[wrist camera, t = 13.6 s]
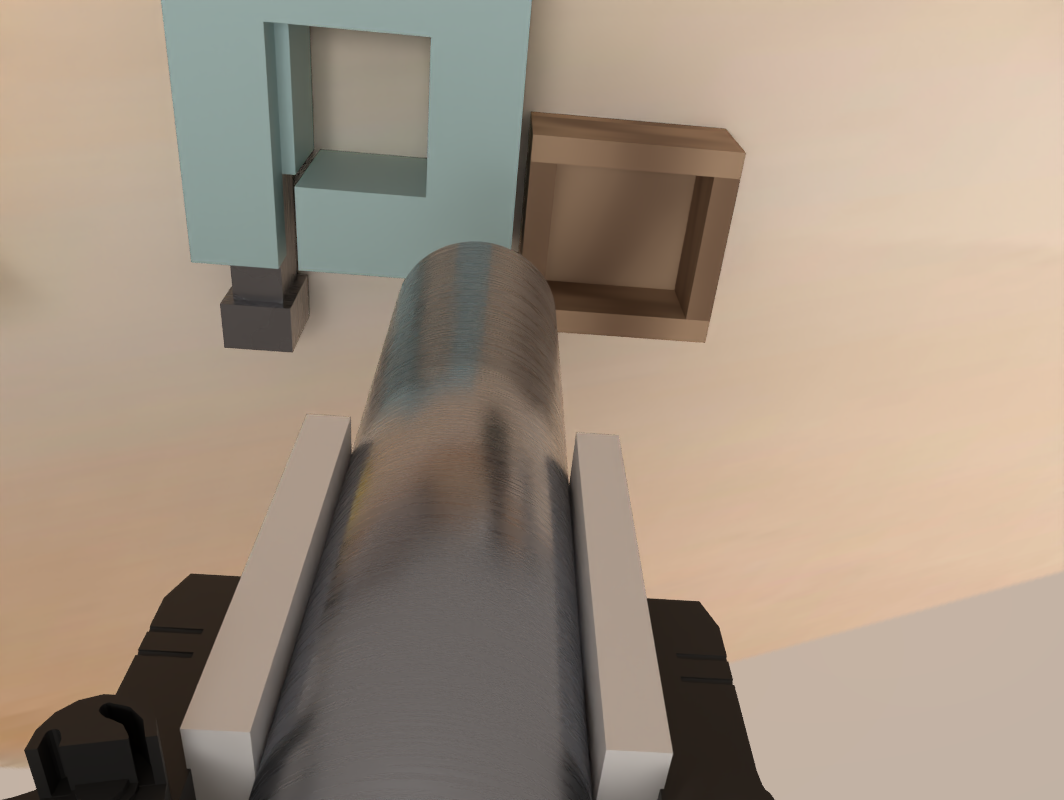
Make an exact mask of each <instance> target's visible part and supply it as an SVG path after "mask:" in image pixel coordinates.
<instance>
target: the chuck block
mask: <svg viewBox="0 0 1064 800" xmlns="http://www.w3.org/2000/svg"><path fill="white" fill-rule="evenodd" d="M161 4H162V13H163V22H164V30H165V39H166V48H167V56H168V65H169V73H170V82H171V91H172V99H173V108H174V117H175V125H176V134H177V143H178V151H179V160H180V169H181V177H182V186H183V194H184V203H185V212H186V220H187V229H188V238H189V246H190V255H191V262H194V263H207V264H220V265H234V266H247V267H260V268H273V269H279V267H280V266H281V264H282V262H283V260H284V259H285V257H286V255H287V253H286V235H285V217H284V199H283V181H282V174H291V175H296V174H297V172H298V171H299V169H300V168H301V167H302V165H303V164H304V162H305V161H306V160H307V158H308V157H309V155H310V154H311V153H312V151H313V150H314V134H313V107H312V79H311V52H310V26H317V27H327V28H338V29H349V30H360V31H370V32H381V33H392V34H402V35H413V36H424V37H431V50H430V84H429V118H428V152H427V158H415V157H404V156H392V155H380V154H368V153H356V152H344V151H332V150H321V149H320V150H319V152H318V153H317V155H316V156H315V158H314V159H313V161H312V162H311V164H310V165H309V166H308V168H307V169H306V171H305V172H304V174H303V175H302V177H301V178H300V180H299V181H298V182H297V184H296V185H295V187H294V188H295V209H296V229H297V249H298V270H300V271H313V272H326V273H340V274H353V275H366V276H379V277H393V278H406V277H407V275H408V274H409V273H410V271H411V270H412V269H413V267H414V266H415V265H416V264H417V263H419V262H420V261H421V260H422V259H423V258H425V257H426V256H427V255H429V254H430V253H432V252H434V251H436V250H438V249H440V248H442V247H445V246H448V245H451V244H455V243H460V242H469V241H478V242H488V243H493V244H497V245H501V246H504V247H506V248H509V249H511V245H512V233H513V221H514V209H515V197H516V185H517V173H518V161H519V149H520V137H521V125H522V113H523V101H524V88H525V76H526V64H527V52H528V40H529V28H530V16H531V4H532V0H161Z"/></svg>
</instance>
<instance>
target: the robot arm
mask: <svg viewBox="0 0 1064 800" xmlns="http://www.w3.org/2000/svg"><path fill="white" fill-rule="evenodd" d="M350 458H351V417H346V416H331V415H317V414H306V417H305V419H304V422H303V424H302V427H301V429H300V432H299V434H298V437H297V439H296V442H295V444H294V447H293V449H292V452H291V454H290V457H289V459H288V462H287V464H286V467H285V469H284V472H283V474H282V477H281V479H280V481H279V484H278V486H277V489H276V491H275V494H274V496H273V499H272V501H271V504H270V506H269V509H268V511H267V514H266V516H265V519H264V521H263V524H262V526H261V529H260V531H259V534H258V536H257V539H256V541H255V544H254V546H253V548H252V551H251V553H250V556H249V558H248V561H247V563H246V566H245V568H244V571H243V573H242V576H241V577H239V576H222V575H205V574H190V575H189V576H188V577H187V578H185V579H184V580H183V581H182V582H181V583H180V584H179V585H178V586H177V587H175V588H174V589H173V590H172V591H171V592H170V593H169V594H168V595H167V596H165V597H164V599H163V601H162V603H161V605H160V607H159V609H158V611H157V613H156V615H155V617H154V619H153V621H152V623H151V625H150V630H149V632H147V633H146V635H145V637H144V639H143V641H142V643H141V645H140V647H139V649H138V655H135V657H134V659H133V661H132V663H131V665H130V667H129V669H128V671H127V673H126V675H125V677H124V679H123V681H122V683H121V685H120V687H119V689H118V691H117V693H116V695H109V694H103V695H99V696H95V697H90V698H86V699H82V700H78V701H76V702H74V703H73V704H71V705H69V706H67V707H65V708H63V709H61V710H59V711H57V712H55V713H54V714H53V715H52V716H51V717H50V718H49V719H47V720H46V721H45V722H44V723H43V724H42V725H41V726H40V727H39V728H38V729H36V731H35V732H34V734H33V736H32V738H31V739H30V741H29V743H28V745H27V747H26V748H25V750H24V751H25V754H26V757H27V760H28V763H29V767H30V770H31V773H32V776H33V779H34V782H35V785H36V788H37V789H36V790H34V791H31V792H28V793H25V794H22V795H19V796H16V797H12V798H8V799H4V800H249V797H250V793H251V790H252V787H253V783H254V780H255V778H256V774H257V771H258V767H259V764H260V761H261V757H262V754H263V751H264V747H265V744H266V741H267V737H268V734H269V730H270V727H271V724H272V720H273V717H274V714H275V710H276V707H277V703H278V700H279V697H280V693H281V690H282V687H283V683H284V680H285V677H286V673H287V670H288V666H289V663H290V660H291V656H292V653H293V650H294V646H295V643H296V639H297V636H298V633H299V629H300V626H301V623H302V619H303V616H304V613H305V609H306V606H307V602H308V599H309V596H310V592H311V589H312V586H313V582H314V579H315V575H316V572H317V569H318V565H319V562H320V559H321V555H322V552H323V549H324V545H325V542H326V538H327V535H328V532H329V528H330V525H331V522H332V518H333V515H334V511H335V508H336V505H337V501H338V498H339V495H340V491H341V488H342V485H343V481H344V478H345V474H346V471H347V468H348V464H349V461H350ZM569 492H570V505H571V519H572V532H573V545H574V558H575V572H576V585H577V598H578V612H579V625H580V638H581V651H582V665H583V678H584V691H585V705H586V718H587V731H588V744H589V758H590V771H591V784H592V798H593V800H774V798H773V797H772V795H771V794H770V793H769V792H768V791H766V790H765V788H764V787H763V785H762V783H761V781H760V778H759V776H758V773H757V771H756V767H755V763H754V759H753V755H752V751H751V748H750V744H749V740H748V736H747V732H746V728H745V724H744V721H743V717H742V713H741V709H740V705H739V701H738V698H737V694H736V690H735V686H734V685H733V684H732V681H733V679H732V675H731V671H730V667H729V663H728V662H727V660H726V657H727V655H726V651H725V648H724V644H723V640H722V636H721V632H720V628H719V626H718V625H717V624H716V623H715V621H714V620H713V619H712V617H711V616H710V615H709V613H708V612H707V611H706V610H705V608H704V607H703V606H702V604H701V603H700V602H699V601H683V600H666V599H649V598H647V597H646V592H645V586H644V580H643V574H642V568H641V562H640V556H639V550H638V545H637V539H636V533H635V527H634V521H633V515H632V509H631V503H630V498H629V492H628V486H627V480H626V474H625V468H624V462H623V457H622V451H621V445H620V439H619V435H609V434H595V433H580V432H576V438H575V446H574V453H573V461H572V468H571V476H570V483H569Z"/></svg>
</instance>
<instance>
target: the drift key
mask: <svg viewBox="0 0 1064 800" xmlns="http://www.w3.org/2000/svg"><path fill="white" fill-rule="evenodd" d="M282 181H283V199H284V217H285V235H286V253H287V255H286V257H285V259H284V260H283V262H282V264H281V266H280V267H279V269H273V268H260V267H247V266H234V265H230V266H231V277H232V287H231V288H230V290H229V291H228V293H227V294H226V296H225V297H224V299H223V300H222V302H221V303H220V308H221V318H222V328H223V338H224V347H225V348H238V349H252V350H267V351H281V352H293V351H294V348H295V346H296V344H297V342H298V340H299V337H300V335H301V333H302V331H303V329H304V326H305V324H306V322H307V320H308V318H309V299H308V276H307V275H301V274H297V260H296V240H295V220H294V200H293V180H292V175H291V174H282Z"/></svg>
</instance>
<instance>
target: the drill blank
mask: <svg viewBox="0 0 1064 800" xmlns="http://www.w3.org/2000/svg"><path fill="white" fill-rule="evenodd" d="M249 800H593V798H592V784H591V771H590V758H589V744H588V731H587V718H586V705H585V691H584V678H583V665H582V651H581V638H580V625H579V612H578V598H577V585H576V572H575V558H574V545H573V532H572V519H571V505H570V492H569V479H568V465H567V452H566V439H565V426H564V412H563V399H562V386H561V373H560V359H559V346H558V333H557V319H556V308H555V302H554V298H553V294H552V292H551V289H550V287H549V285H548V283H547V281H546V280H545V278H544V276H543V275H542V274H541V273H540V271H539V270H538V269H537V268H536V267H535V266H534V265H533V264H532V263H531V262H530V261H529V260H527V259H526V258H525V257H523V256H522V255H520V254H518V253H517V252H515V251H513V250H511V249H509V248H506V247H504V246H501V245H497V244H493V243H488V242H478V241H469V242H460V243H455V244H451V245H448V246H445V247H442V248H440V249H438V250H436V251H434V252H432V253H430V254H429V255H427V256H426V257H425V258H423V259H422V260H421V261H420V262H419V263H417V264H416V265H415V266H414V267H413V269H412V270H411V271H410V273H409V274H408V275H407V277H406V279H405V281H404V282H403V284H402V287H401V290H400V292H399V295H398V299H397V302H396V306H395V309H394V312H393V316H392V319H391V322H390V326H389V329H388V332H387V336H386V339H385V343H384V346H383V349H382V353H381V356H380V359H379V363H378V366H377V369H376V373H375V376H374V380H373V383H372V386H371V390H370V393H369V396H368V400H367V403H366V406H365V410H364V413H363V417H362V420H361V423H360V427H359V430H358V433H357V437H356V440H355V443H354V447H353V450H352V454H351V458H350V461H349V464H348V468H347V471H346V474H345V478H344V481H343V485H342V488H341V491H340V495H339V498H338V501H337V505H336V508H335V511H334V515H333V518H332V522H331V525H330V528H329V532H328V535H327V538H326V542H325V545H324V549H323V552H322V555H321V559H320V562H319V565H318V569H317V572H316V575H315V579H314V582H313V586H312V589H311V592H310V596H309V599H308V602H307V606H306V609H305V613H304V616H303V619H302V623H301V626H300V629H299V633H298V636H297V639H296V643H295V646H294V650H293V653H292V656H291V660H290V663H289V666H288V670H287V673H286V677H285V680H284V683H283V687H282V690H281V693H280V697H279V700H278V703H277V707H276V710H275V714H274V717H273V720H272V724H271V727H270V730H269V734H268V737H267V741H266V744H265V747H264V751H263V754H262V757H261V761H260V764H259V767H258V771H257V774H256V778H255V780H254V783H253V787H252V790H251V793H250V797H249Z"/></svg>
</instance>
